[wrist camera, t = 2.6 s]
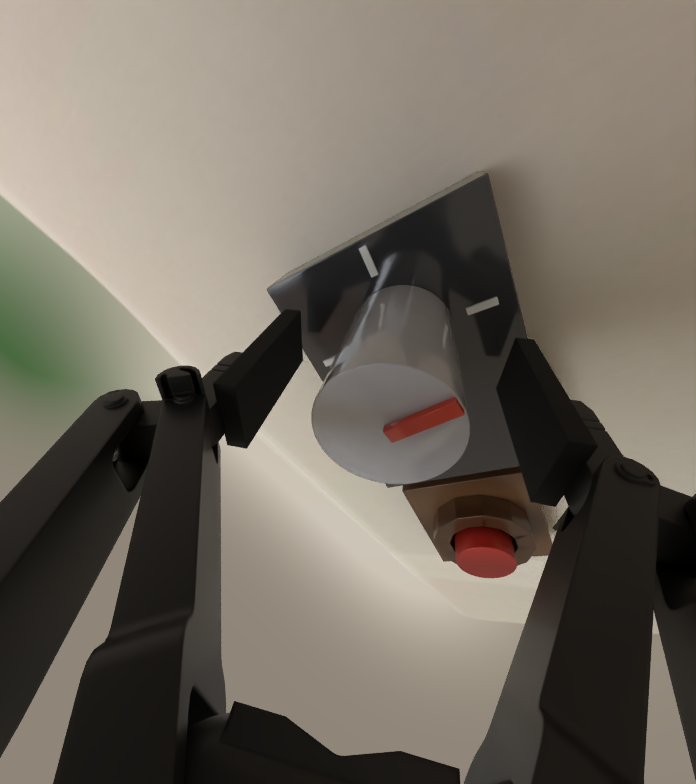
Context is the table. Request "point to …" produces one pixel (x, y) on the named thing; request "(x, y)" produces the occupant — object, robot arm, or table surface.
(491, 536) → the power button
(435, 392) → the stove knob
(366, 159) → the table surface
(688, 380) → the table surface
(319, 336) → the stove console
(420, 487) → the block
